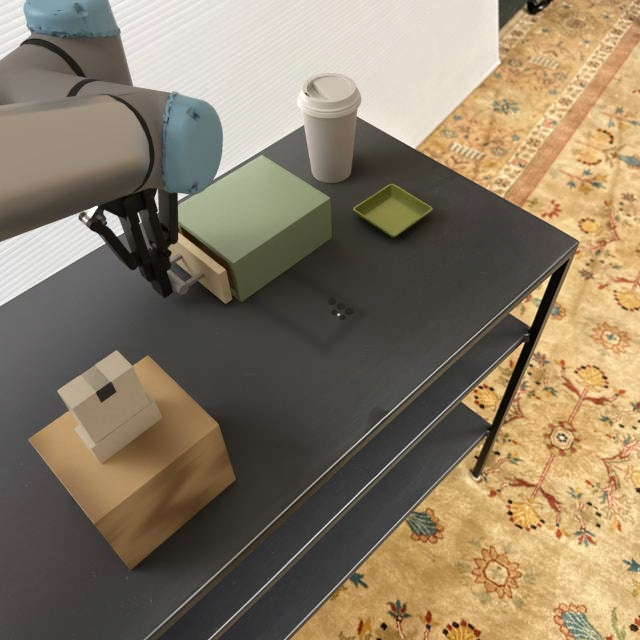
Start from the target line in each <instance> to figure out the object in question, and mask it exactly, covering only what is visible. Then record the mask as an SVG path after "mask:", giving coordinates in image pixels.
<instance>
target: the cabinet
mask: <svg viewBox="0 0 640 640" xmlns="http://www.w3.org/2000/svg"><path fill="white" fill-rule="evenodd" d="M178 224H179V225H180V226H181V227H183V228H184V229H185V230H187V231H188V232H189V233H190V234H192V235H193V236H194V237H196V238H197V239H198V240H199V241H201V242H202V243H203V244H205V245H206V246H207V247H208V248H210V249H211V250H212V251H214V252H215V253H216V254H217V255H219V256H220V257H221V258H223V259H224V260H225V261H226V262H228V263H229V264H230V265H231V270H232V274H233V279H234V284H235V288H233V287H232V286H231V285H230V284H229V286H230V291H231V295H232V297H234V298H235V299H236V300H238V302H240V303H242V302H244V301H245V300H247V299H248V298H250V297H251V296H252V295H254V294H255V293H257V292H258V291H260V290H261V289H263V288H264V287H265V286H266V285H268V284H269V283H271V282H272V281H274V280H275V279H276V278H278V277H279V276H280V275H282V274H284V272H286V271H287V270H289V269H290V268H292V267H293V266H295V265H296V264H297V263H299V262H300V261H302V260H303V259H304V258H306V257H307V256H309V255H310V254H311V253H312V252H314V251H315V250H317V249H318V248H319V247H320V248H321V246H322V245H324V244H325V243H327V242H328V241H330V240H331V239H333V230H332V227H333V226H332V201H331V197H330V196H328V195H327V194H325V193H324V192H323V191H320V190H319V189H317V188H316V187H315V186H312V185H311V184H309V183H308V182H306V181H304V180H303V179H301V178H299V177H298V176H297V175H295V174H294V173H292V172H290V171H288V170H287V169H286V168H283V166H281V165H279V164H277V163H275V162H274V161H272V160H271V159H270V158H268V157H266V156H265V155H263V154H261V155H259V156H258V157H256V158H255V159H252V160H251V161H248V163H246V164H245V165H242V166H241V167H239V168H237V169H236V170H234V171H233V172H231V173H229V174H228V175H225V176H224V177H222V178H221V179H219V180H218V181H215V182H214V183H213V184H212V183H211V184H210V185H209V186H208V187H207V188H206V189H205V190H204V191H202V192H200V193H198V194H193V195H191V196H190V197H189V198H187V199H186V200H184V201H182V202H180V203H178ZM178 232H179V233H180V231H179V228H178Z"/></svg>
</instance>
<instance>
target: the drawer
mask: <svg viewBox="0 0 640 640" xmlns="http://www.w3.org/2000/svg"><path fill="white" fill-rule="evenodd" d="M178 228H179V231H180V233H179V232H178V242H177V243H176V244H174V245H173V244H171V245H170V246H169V247H168V249H169V250H170V251H171V252H172V254H171V256H170V257H169V259H170V263H171V266H172V265H174V264H177V265H178V266H179V267H181V268H182V269H183V270H184V271H185V272H186V273H187V274H189V275H190V276H191V277H190V278H189V279H187V280H186V281H184V280H183V279H182V278H180V276H178V275H177V274H176V273H175V272H174V271H172V270H171V269H170V270H168V271H167V274H168V277H169V280H170V283H171V286H172V289H173V290H174V291H175V292H177V293H178V295H181V296H183V295H185V294H187V293H188V291H189V290H190V289H189V288H190V287H191V286H192V285H194V284H195V283H197V282H199V283H200V284H201V285H202V286H203V287H204V288H206V289H207V290H208V291H209V292H210V293H211V294H213V295H214V296H215V297H216V298H218V299H219V300H220V301H221V302H222V303H224V304H225V305H226V304H228V303H229V302H231V301H232V300H233V295H232V294H231V291H230V286H229V284H230V285H231V286H232V287H233V288H235V284H234V279H233V274H232V270H231V265H230V264H229V263H228V262H226V261H225V260H224V259H223V258H221V257H220V256H219V255H217V254H216V253H215V252H214V251H212V250H211V249H210V248H208V247H207V246H206V245H205V244H203V243H202V242H201V241H199V240H198V239H197V238H196V237H194V236H193V235H192V234H190V233H189V232H188V231H187V230H185V229H184V228H183V227H181V226H180V225H179V224H178Z"/></svg>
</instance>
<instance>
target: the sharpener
mask: <svg viewBox="0 0 640 640" xmlns="http://www.w3.org/2000/svg"><path fill="white" fill-rule="evenodd" d="M56 392H57V394H58V395H59V397H60V398H61V400H62V401H63V403H64V404H65V406H66V408H67V409H68V411H69V410H70V412H71V414H72V415H73V417H74V418H75V420H76V421H77V423H78V425H79V426H78V427H76V428H75V431H76V433H77V434H78V436H79V437H80V439H81V440H82V442H83V443H84V445H85V446H86V447H87V448H88V450H89V451H90V452H91V453H92V454H93V455H94V457H95V458H96V459H97V460H98V461H99V463H100V464H102V463H104V462H105V461H106V460H108V459H109V458H110V457H112V456H113V455H114V454H116V453H117V452H118V451H120V450H121V449H122V448H124V447H125V446H126V445H127V444H129V443H130V442H131V441H133V440H134V439H135V438H137V437H138V436H139V435H141V434H142V433H143V432H145V431H146V430H147V429H149V428H150V427H151V426H152V425H154V424H155V423H156V422H158V421H159V420H160V419H162V416H161V413H160V411H159V409H158V407H157V404H156V402H155V401H154V400H153V399H152V398H151V397H150V396H149V395H148V393H147V392H146V391H145V390H144V389H143V387H142V385H141V383H140V381H139V379H138V376H137V374H136V372H135V370H134V368H133V364H131V363H130V362H129V360H128V359H127V358H125V357H124V355H123V354H121V353H120V352H119V350H118V349H117V350H114V351H113V352H112V353H110V354H109V355H107V356H106V357H104V358H103V359H102V360H99V361H98V362H96V363H95V364H94V365H92V366H90V367H89V368H87V369H86V370H84V371H83V372H81V373H80V374H79V375H78V376H76V377H75V378H73V379H72V380H70V381H69V382H67V383H66V384H64V385H63V386H62V387H60V388H59V389H57V390H56Z"/></svg>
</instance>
